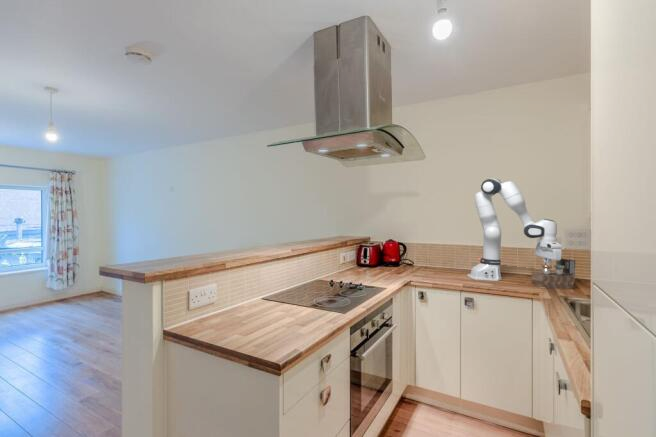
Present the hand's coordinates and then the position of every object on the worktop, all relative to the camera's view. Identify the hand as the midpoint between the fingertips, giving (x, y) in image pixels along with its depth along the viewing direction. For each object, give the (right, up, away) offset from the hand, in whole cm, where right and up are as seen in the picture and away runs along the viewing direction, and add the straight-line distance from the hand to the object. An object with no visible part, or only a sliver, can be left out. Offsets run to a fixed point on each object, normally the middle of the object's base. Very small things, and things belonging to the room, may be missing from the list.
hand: (547, 265), depth 202 cm
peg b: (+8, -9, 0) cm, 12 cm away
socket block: (+4, -14, +1) cm, 15 cm away
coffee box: (+21, -14, +12) cm, 28 cm away
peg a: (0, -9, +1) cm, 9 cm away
